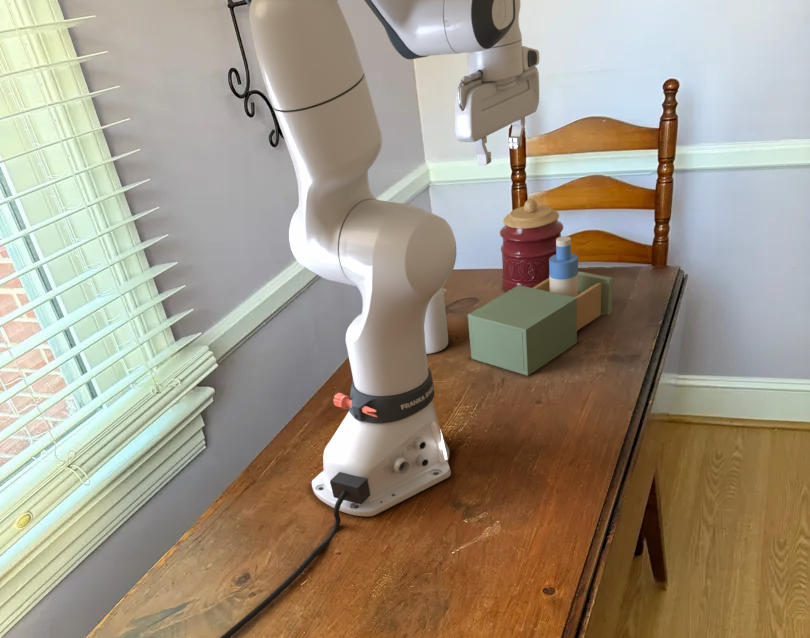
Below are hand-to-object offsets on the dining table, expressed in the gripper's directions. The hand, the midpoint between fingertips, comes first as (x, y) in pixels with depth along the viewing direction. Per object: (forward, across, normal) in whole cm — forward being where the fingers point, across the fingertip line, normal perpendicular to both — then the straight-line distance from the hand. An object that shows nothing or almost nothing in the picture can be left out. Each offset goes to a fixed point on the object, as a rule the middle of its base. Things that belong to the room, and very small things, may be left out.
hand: (500, 155), depth 135 cm
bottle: (+29, +4, -9) cm, 31 cm away
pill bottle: (+32, -14, +10) cm, 36 cm away
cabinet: (+31, -8, -8) cm, 33 cm away
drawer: (+31, +7, -10) cm, 33 cm away
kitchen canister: (+32, +19, +7) cm, 38 cm away
